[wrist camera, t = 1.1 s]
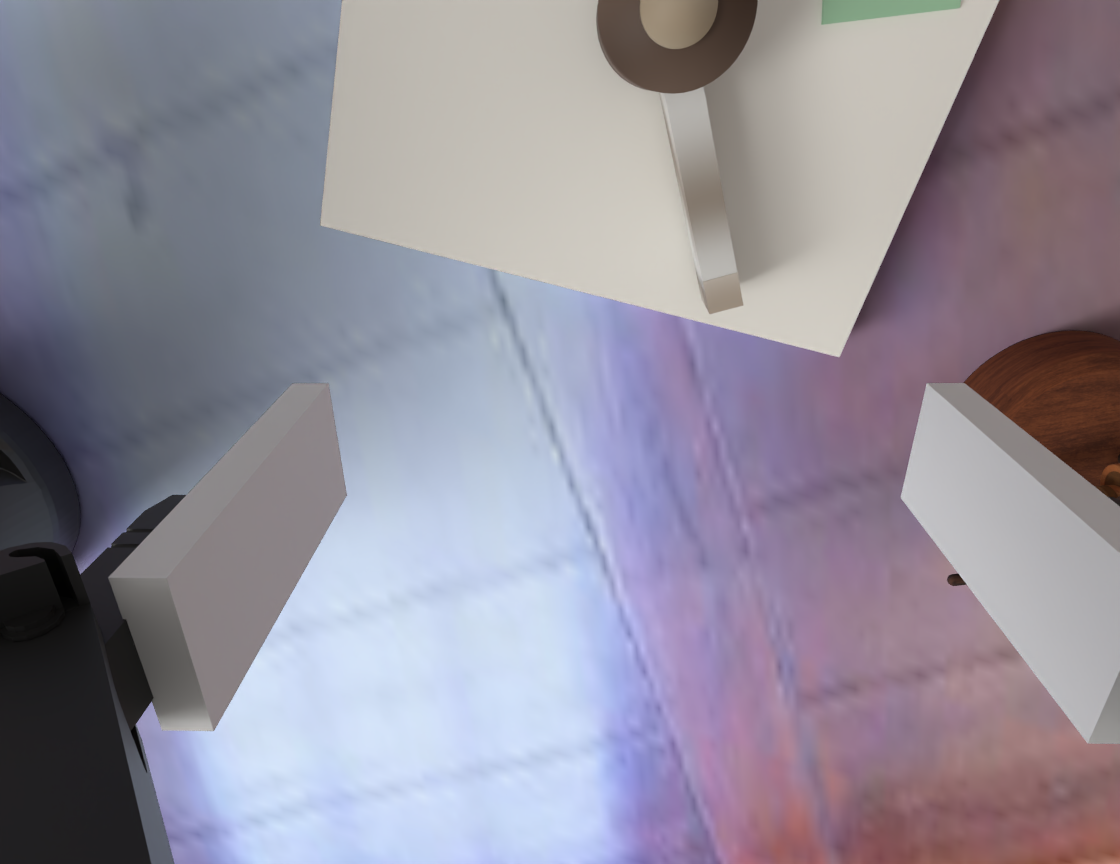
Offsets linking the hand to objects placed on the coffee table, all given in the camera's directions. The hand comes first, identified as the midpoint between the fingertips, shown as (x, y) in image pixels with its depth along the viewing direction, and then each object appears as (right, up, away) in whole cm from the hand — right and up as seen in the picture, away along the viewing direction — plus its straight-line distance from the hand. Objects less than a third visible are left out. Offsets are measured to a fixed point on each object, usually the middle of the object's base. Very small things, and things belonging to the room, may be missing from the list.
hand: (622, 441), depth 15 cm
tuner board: (+3, +17, +14) cm, 22 cm away
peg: (+4, +12, +14) cm, 19 cm away
